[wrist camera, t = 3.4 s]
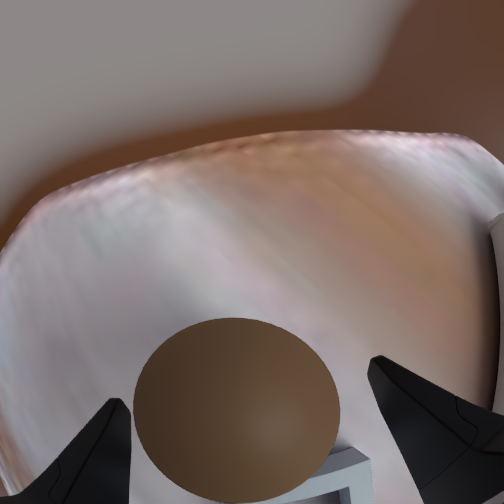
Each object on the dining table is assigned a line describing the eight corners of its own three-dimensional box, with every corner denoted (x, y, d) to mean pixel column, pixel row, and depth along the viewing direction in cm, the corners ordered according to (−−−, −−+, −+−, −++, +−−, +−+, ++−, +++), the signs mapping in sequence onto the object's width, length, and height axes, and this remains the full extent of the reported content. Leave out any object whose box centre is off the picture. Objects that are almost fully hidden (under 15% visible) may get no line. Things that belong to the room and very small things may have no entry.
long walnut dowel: (275, 393, 16) (351, 479, 3) (229, 400, 15) (157, 504, 2) (266, 349, 17) (317, 300, 4) (221, 357, 17) (121, 329, 4)
